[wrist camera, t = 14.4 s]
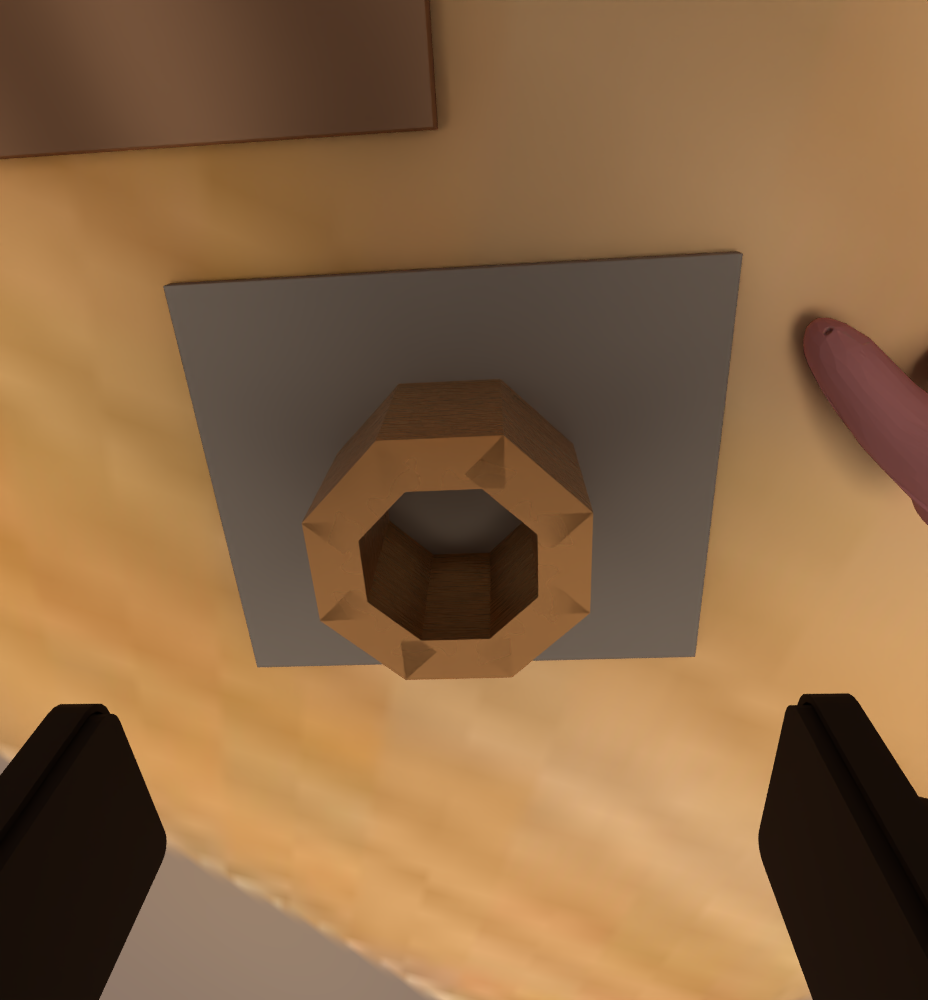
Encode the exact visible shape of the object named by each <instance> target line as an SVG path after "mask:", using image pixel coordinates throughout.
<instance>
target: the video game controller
mask: <svg viewBox="0 0 928 1000" xmlns="http://www.w3.org/2000/svg"><path fill="white" fill-rule="evenodd" d="M803 344H804V355H805V358H806V360H807V363H808V365H809V367H810V369H811V371H812V373H813V375H814V377H815V379H816V381H817V383H818V385H819V387H820V388H821V390H822V392H823V393H824V395H825V396H826V398H827V400H828V401H829V403H830V404H831V406H832V407H833V409H834V410H835V412H836V413H837V414H838V416H839V417H840V418H841V419H842V421H843V422H844V423H845V425H846V426H847V427H848V429H849V430H850V431H851V432H852V434H853V435H854V437H855V438H856V440H857V441H858V443H859V444H860V445H861V446H862V447H863V448H864V450H865V451H866V452H867V453H868V454H869V455H870V456H871V457H872V458H873V459H874V460H875V462H876V463H877V464H878V465H879V466H880V467H881V468H882V469H883V470H884V471H885V472H886V473H887V474H888V475H889V476H890V477H891V478H892V479H893V480H894V481H895V482H896V483H897V484H898V485H899V487H900V488H901V489H902V490H903V491H904V492H905V493H906V494H907V495H908V496H909V497H910V498H911V500H912V502H913V505H914V507H915V510H916V511H917V513H918V514H919V516H920V517H921V519H922V520H923V521H924V522H925V523H926V524H927V525H928V393H927V392H925V391H924V390H923V389H921V388H920V387H919V386H917V385H916V384H915V383H914V382H913V381H912V380H911V379H910V378H909V377H908V376H907V375H906V374H905V373H904V372H903V371H902V370H901V369H900V368H899V367H898V366H897V365H896V364H895V363H894V362H893V361H892V360H891V359H890V358H889V357H888V356H887V355H886V354H885V353H884V352H883V351H882V350H881V349H880V348H879V347H878V346H877V345H876V344H875V343H874V342H873V341H872V340H871V339H870V338H869V337H867V336H865V335H864V334H862V333H860V332H859V331H857V330H856V329H854V328H852V327H851V326H849V325H847V324H846V323H843V322H840V321H837V320H834V319H831V318H817V319H815V320H814V321H812V322H811V323H810V324H809V325H808V326H807V328H806V331H805V335H804V340H803Z"/></svg>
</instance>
